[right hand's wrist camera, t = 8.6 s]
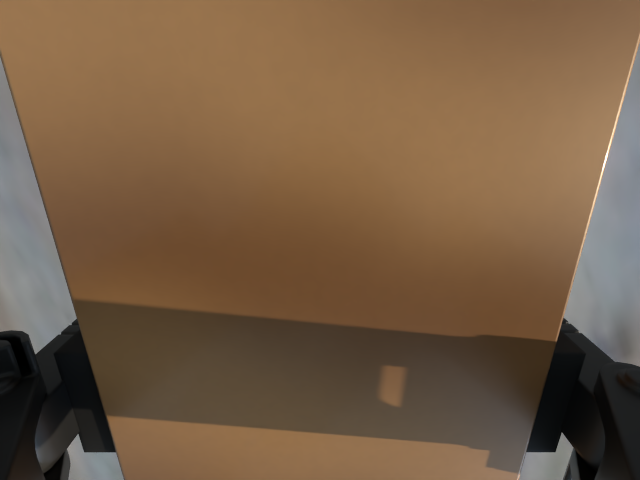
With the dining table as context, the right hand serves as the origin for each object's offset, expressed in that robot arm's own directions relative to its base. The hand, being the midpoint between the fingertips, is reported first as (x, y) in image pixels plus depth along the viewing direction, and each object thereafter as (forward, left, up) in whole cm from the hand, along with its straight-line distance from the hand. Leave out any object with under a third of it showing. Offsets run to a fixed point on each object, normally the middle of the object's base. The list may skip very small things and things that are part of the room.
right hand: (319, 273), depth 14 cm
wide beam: (+15, +26, -1) cm, 31 cm away
